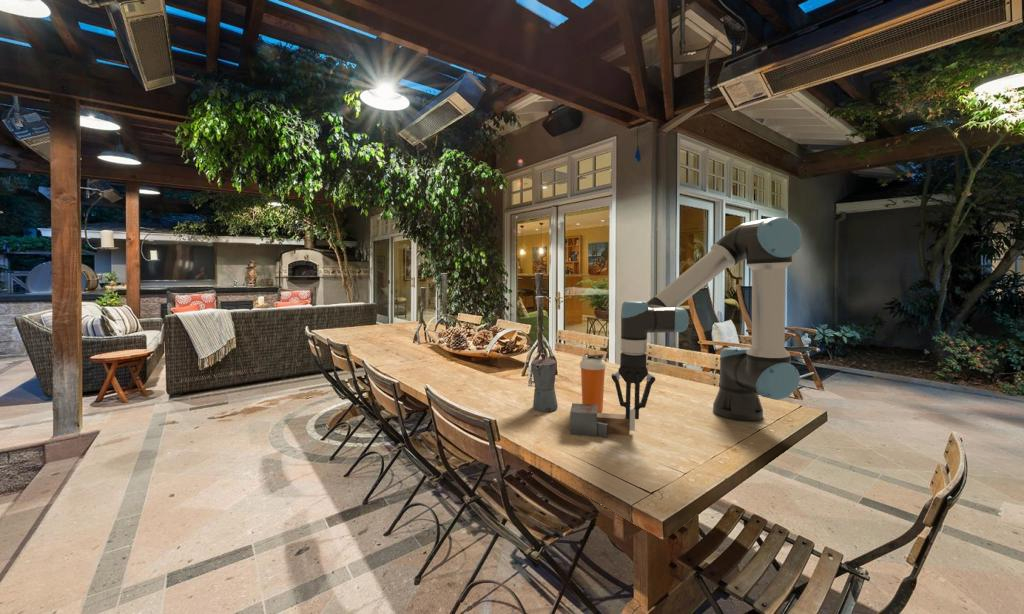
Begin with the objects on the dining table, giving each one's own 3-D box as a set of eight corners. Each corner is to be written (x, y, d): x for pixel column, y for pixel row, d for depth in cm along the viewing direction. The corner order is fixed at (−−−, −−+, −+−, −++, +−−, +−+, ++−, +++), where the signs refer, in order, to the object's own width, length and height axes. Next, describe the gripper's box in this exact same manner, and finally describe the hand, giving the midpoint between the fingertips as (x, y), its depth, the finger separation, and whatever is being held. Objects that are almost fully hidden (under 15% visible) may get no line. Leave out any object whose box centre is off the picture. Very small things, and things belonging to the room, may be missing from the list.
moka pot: (525, 412, 143) (525, 357, 141) (539, 400, 157) (539, 349, 156) (551, 416, 139) (551, 359, 138) (563, 402, 154) (563, 350, 152)
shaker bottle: (605, 414, 140) (606, 357, 139) (579, 413, 142) (579, 357, 140) (604, 406, 149) (605, 352, 147) (580, 405, 151) (580, 352, 149)
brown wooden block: (628, 430, 127) (629, 414, 126) (629, 435, 123) (629, 419, 122) (583, 427, 130) (583, 411, 129) (582, 431, 126) (582, 416, 125)
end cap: (607, 426, 130) (607, 404, 129) (607, 438, 121) (607, 415, 120) (572, 423, 133) (572, 402, 132) (569, 434, 123) (570, 412, 123)
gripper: (654, 351, 124) (652, 426, 126) (610, 349, 127) (609, 422, 129) (658, 356, 117) (655, 435, 119) (611, 354, 119) (610, 431, 121)
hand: (631, 428), depth 124 cm, fingers closed
